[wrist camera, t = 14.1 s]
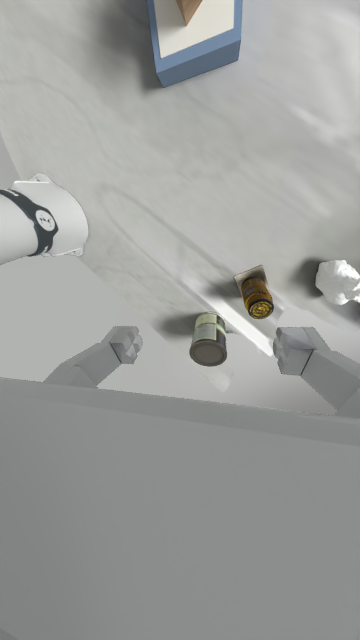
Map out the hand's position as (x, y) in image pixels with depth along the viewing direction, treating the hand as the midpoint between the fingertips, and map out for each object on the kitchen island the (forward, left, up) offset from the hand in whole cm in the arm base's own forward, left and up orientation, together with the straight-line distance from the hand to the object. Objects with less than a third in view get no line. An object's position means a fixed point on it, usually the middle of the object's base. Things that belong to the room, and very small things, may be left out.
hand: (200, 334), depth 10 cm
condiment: (+10, -14, -37) cm, 41 cm away
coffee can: (-2, -28, -37) cm, 47 cm away
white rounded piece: (+28, -13, -37) cm, 48 cm away
